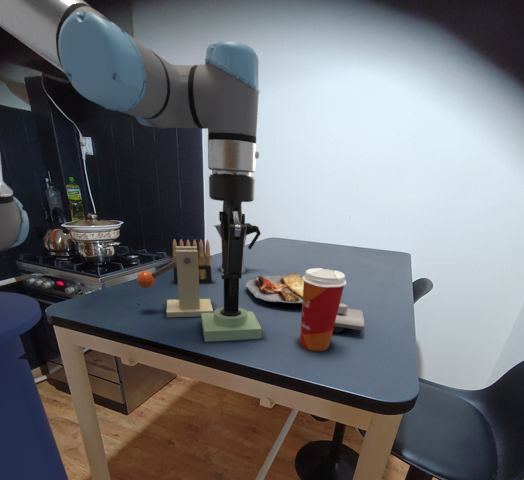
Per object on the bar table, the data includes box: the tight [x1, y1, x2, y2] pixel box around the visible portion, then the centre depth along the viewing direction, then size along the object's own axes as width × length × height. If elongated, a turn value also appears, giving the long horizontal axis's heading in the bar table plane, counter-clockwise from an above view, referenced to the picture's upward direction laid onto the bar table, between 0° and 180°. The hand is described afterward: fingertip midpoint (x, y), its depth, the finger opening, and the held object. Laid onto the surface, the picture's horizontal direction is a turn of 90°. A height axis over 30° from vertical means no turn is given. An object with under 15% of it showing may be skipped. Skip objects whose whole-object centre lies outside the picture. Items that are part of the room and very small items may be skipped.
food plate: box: [244, 272, 304, 305], centre depth 86 cm, size 25×23×4 cm
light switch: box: [333, 302, 366, 333], centre depth 69 cm, size 10×10×5 cm
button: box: [221, 309, 240, 317], centre depth 63 cm, size 4×4×2 cm
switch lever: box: [136, 248, 190, 289], centre depth 68 cm, size 13×4×4 cm, turn 103°
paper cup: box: [299, 267, 347, 352], centre depth 58 cm, size 8×8×14 cm
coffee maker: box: [213, 222, 262, 274], centre depth 102 cm, size 15×9×18 cm, turn 95°
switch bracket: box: [166, 245, 214, 318], centre depth 70 cm, size 10×8×14 cm
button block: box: [200, 306, 263, 343], centre depth 64 cm, size 11×9×4 cm
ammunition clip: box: [172, 238, 213, 285], centre depth 89 cm, size 11×2×12 cm, turn 104°
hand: (231, 309), depth 63 cm, fingers closed
